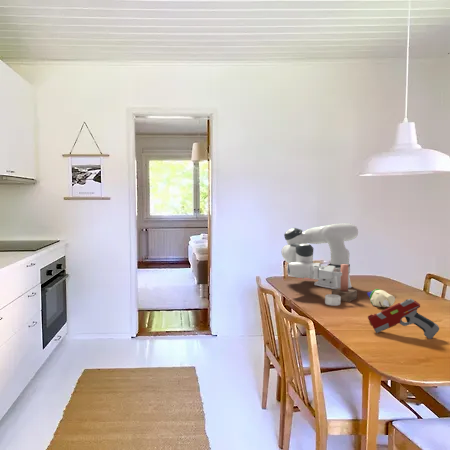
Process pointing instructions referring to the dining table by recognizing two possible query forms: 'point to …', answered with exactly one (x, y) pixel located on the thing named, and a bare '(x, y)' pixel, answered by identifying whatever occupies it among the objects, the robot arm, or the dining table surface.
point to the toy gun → (400, 311)
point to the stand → (346, 294)
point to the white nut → (332, 299)
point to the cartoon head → (381, 298)
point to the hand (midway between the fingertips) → (342, 272)
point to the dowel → (344, 277)
